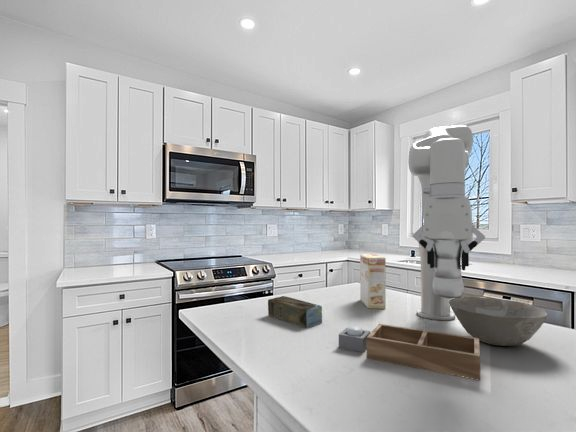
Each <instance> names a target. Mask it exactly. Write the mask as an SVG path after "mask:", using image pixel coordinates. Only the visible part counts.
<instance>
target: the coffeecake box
mask: <svg viewBox="0 0 576 432" xmlns="http://www.w3.org/2000/svg"><path fill="white" fill-rule="evenodd" d="M359 257H360V259H359V261H360V262H359V263H360V264H359V265H360V268H359V270H360V272H359V274H360V281H359V282H360V283H359V285H360V289H359V290H360V293H359V294H360V295H359V296H360V297H359V298H360V299H359V300H360V301H361V302H362V303H363V304H364V305H365V307H366V308H367V309H379V310H380V309H381V310H382V309H385V310H386V308H387V307H386V305H387V304H386V299H387V297H386V260H387V258H386V257H385V256H381V255H378V254H375V253H374V254H373V253H369V254H368V253H364V254H361V253H360V255H359Z"/></svg>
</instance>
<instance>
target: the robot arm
mask: <svg viewBox="0 0 576 432" xmlns="http://www.w3.org/2000/svg"><path fill="white" fill-rule="evenodd" d="M473 144H474V134H473V132H472V129H471V128H470V127H469V126H468V125H464V124H463V125H462V124H461V125H451V126H448V125H447V126H439V127H438V126H437V127H433V128H430V129H429V130H427V131H426V132H425V134H424V135H423V138H422V139H421V140H418V141H415V142H414V143H412V144H411V146H410V148H409V151H408V161H407V162H408V168H409V169H408V170H409V172H410V174H412V175H413V176H416V177H417V178H418V180H419V182H420V185H421V186H420V187H421V215H422V218H423V224H422V225H421V226H420V228H418V229H417V230H416V231H415V232H414V233H413V234H412V237H413V238H414V240H416V241H417V243H418V249H419V259H420V308H417V309H416V314H417V316H418V317H421V318H424V319H429V320H436V321H450V320H454V319H455V318H456V315H455V314H454V312H453V311H451V306H450V304H449V301H450V300H451V299H447V298H443V297H440V296H437V295H436V294H435V293H434V291H433V279H434V277H435V276H434V274H435V250H434V241H433V240H437V239H439V234H440V233H441V232H443V231H445V230H446V231H447V230H448V231H449V232H451V233H452V234H453V235H454V239H455V240H456V241H461V245H462V248H461V271H466V267H469V265H470V263H469V262H470V261H469V260H470V259H469V258H470V257H469V255H470V254H469V253H470V252H472V250H473V249H475V248H476V247H477V246H478V245H479V244H480V243H482V242H483V241H484V240H486V235H485V234H483V233H482V232H481V231H480V230H479V229H477V227H476V226H475V225H473V213H472V212H473V211H472V204H471V201H470V199H469V197H466V184H465V183H466V177H465V176H466V175H465V172H466V169H467V168H468V167H469V159H470V155H471V154H472V153H471V152H472V148H473ZM473 234H474V235H475V237H476V238H474V235H473Z"/></svg>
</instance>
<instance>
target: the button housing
mask: <svg viewBox="0 0 576 432" xmlns="http://www.w3.org/2000/svg"><path fill="white" fill-rule="evenodd" d="M370 333H371V331H370V330H365V329H362V336H361V337H359V336H353V335H347V327H346V328H344V329H343V330H341V332H340V333H338V348H339V349H342V350H349V351H353V352H360V353H365V351H367V336H368V335H369V334H370Z"/></svg>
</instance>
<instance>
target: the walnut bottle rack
mask: <svg viewBox="0 0 576 432" xmlns="http://www.w3.org/2000/svg"><path fill="white" fill-rule="evenodd" d="M480 350H481V349H480V340H479V338H474V337H472V336H466V335H460V334H459V335H458V334H452V333H445V332H439V331H432V330H425V329H419V328H418V329H417V328H411V327H404V326H397V325H391V324H386V323H385V324H384V323H378V324H377V326H376V327H374V329H373V330H372V331H370V334H369V335H368V336H367V349H366V359H371V360H375V361H376V360H377V361H380V362H386V363H391V364H395V365H401V366H406V367H409V368H410V367H411V368H416V369H421V370H427V371H430V372H435V373H441V374H445V373H446V375H450V374H453V375H452V376H455V375H459V376H458V377H460V376H464V377H463V378H465V377H468V378H467V379H470V378H473V379H472V380H475V379H478V380H477V381H481V361H480V360H481V354H480V353H481V352H480Z"/></svg>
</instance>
